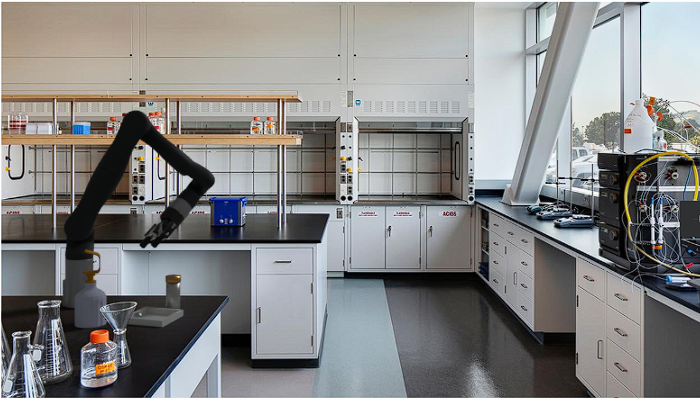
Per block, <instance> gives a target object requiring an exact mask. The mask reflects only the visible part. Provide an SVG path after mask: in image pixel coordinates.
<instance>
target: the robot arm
mask: <svg viewBox="0 0 700 399" xmlns="http://www.w3.org/2000/svg"><path fill="white" fill-rule="evenodd" d="M139 141H142V142H143V143H145V144H146V145H147V146H149V147H150V148H151V149H152V150H153V151H154V152H156V153H157V154H158V155H159V156H160V157H161V159H163V160H164V161H165V162H166V163H167V165H169V166H170V167H171V168H172V169H173V170H175V172H177V174H179V175H180V176H183V177H189V178H190V179H191V181H190V182H189V183H188V185H186V187H185V188H184V189H183V190H182V191H181V192H180V193H179V195H177V197H176V198H175V199H174V200H172V202H170V203H169V204H168V205H167V207H166V208H165V209H164V210H163V211H162V212H161V213H160V215H159V219H160V222H158V223H157V222H156V223H154V224H153V225H152V226H151V227H150V228H149V229H148V230H147V231H146V232H145V233H144V234H143V235H144V238H143V239H142V240H141V242H140V243H138V244H139V245H138V246H139V247H141V249H145V248H147V246H148V245H149V244H150V246H151V247H152V248H153V249H156V248H158V246H159V245H160V244H161V243H162V241H165V240H167V239H169V238H170V236H171V235H172V234H173V232H175V231H176V230H177V229H178V228H179V227H180V226H181V225H182V223H183V222H184V221H185V220H186V219H187V218H188V217H189V215H190V213H191V212H192V211H193V209H194V208H195V207H196V206H197V204H198V203H199V202H200V199H202V197H203V196H204V195H205V194H206V193H207V192H208V191H209V190H210V189H211V188H212V187H213V186H214V185H215V182H216V178H215V175H214V174H213V173H212V172H211V170H209V169H208V168H207V167H205V166H203V165H202V164H199V163H198V162H195V161H194V160H193V159H192V158H191V157H190V156H189V155H187V154H186V153H185V152H184V151H183V150H182V149H181V148H179V147H178V146H177V145H175V144H174V143H173V142H171V141H170V140H168V138H166V137H165V136H164V135H163V134H162V133H161V132H160V131H159V130H158V129H157V128H156V126H155V125H154V124H153V123H152V122H151V119H150V118H149V116H148V115H147V114H146V113H145V112H144V111H141V110H138V109H134V110H130V111H128V112H126V113H125V115H123V118H122V120H121V123H120V126H119V128H118V130H117V133H116V135H115V137H114V139H113V141H112V143H111V144H110V145H109V147H108V148H107V149H106V151H105V153H104V154H103V156H102V157H101V159H100V160H99V162H98V164H97V165H96V167H95V169H94V171H93V172H92V174H91V177H90V179H89V180H88V183H87V185H86V187H85V190H84V192H83V194H82V197H81V199H80V201H79V202H78V204H77V205H76V206H75V208H74V209H73V211H72V212H71V214H70V215H69V217H68V218H67V219H66V220H65V222H64V224H63V232H64V235H65V237H66V243H65V251H64V258H65V259H64V264H65V265H64V269H65V270H64V276H65V277H64V278H63V280H62V307H66V308H68V309H75V296H76V294H77V293H78V292H80V291H81V290H83V289H84V288H85V281H86V280H88V276H86V274H83V271H88V270H94V255H92V254H89V253H85V250H90V251H94V250H95V222H96V220H97V218H98V215H99V213H100V211H101V210H102V208H103V206H104V205H105V204H106V203H107V201H108V200H109V199H110V197H111V196H112V195H113V193H114V191H115V190H116V189H117V188H118V186H119V184H120V182H121V181H122V179H123V177H124V174H125V173H126V170H127V167H128V165H129V162H130V159H131V156H132V153H133V152H134V151H135V150H134V149H135V148H136V146H137V145H138V143H139ZM94 252H95V251H94Z"/></svg>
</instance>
